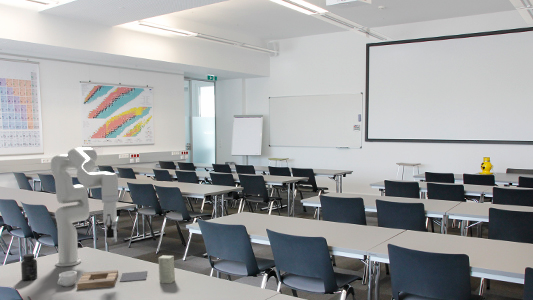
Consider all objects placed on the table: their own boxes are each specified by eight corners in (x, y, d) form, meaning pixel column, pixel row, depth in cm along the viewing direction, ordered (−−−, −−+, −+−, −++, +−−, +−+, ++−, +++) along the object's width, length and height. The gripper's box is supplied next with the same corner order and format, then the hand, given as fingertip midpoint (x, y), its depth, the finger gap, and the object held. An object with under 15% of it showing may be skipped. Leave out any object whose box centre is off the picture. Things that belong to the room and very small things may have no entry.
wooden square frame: (84, 277, 210) (83, 272, 210) (118, 274, 214) (118, 269, 214) (77, 289, 195) (77, 283, 195) (114, 286, 198) (113, 280, 198)
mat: (122, 273, 215) (122, 273, 215) (147, 271, 218) (147, 271, 218) (119, 282, 204) (119, 281, 204) (145, 279, 206) (145, 279, 206)
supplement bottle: (19, 279, 209) (18, 255, 209) (34, 275, 214) (33, 252, 214) (24, 282, 205) (23, 257, 204) (39, 278, 210) (38, 254, 209)
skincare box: (175, 280, 205) (174, 255, 204) (170, 283, 201) (170, 258, 200) (163, 279, 207) (162, 254, 206) (158, 282, 202) (158, 257, 202)
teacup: (67, 281, 206) (67, 270, 206) (80, 282, 203) (80, 271, 203) (51, 288, 196) (51, 277, 196) (64, 290, 194) (64, 278, 194)
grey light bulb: (105, 240, 208) (105, 221, 208) (118, 239, 209) (118, 220, 209) (103, 243, 202) (103, 224, 202) (116, 243, 203) (116, 223, 203)
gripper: (105, 196, 213) (106, 232, 213) (98, 201, 196) (99, 241, 197) (120, 195, 214) (121, 231, 215) (115, 201, 197) (116, 240, 198)
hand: (111, 235), depth 206 cm, fingers closed on grey light bulb, 5 cm apart
